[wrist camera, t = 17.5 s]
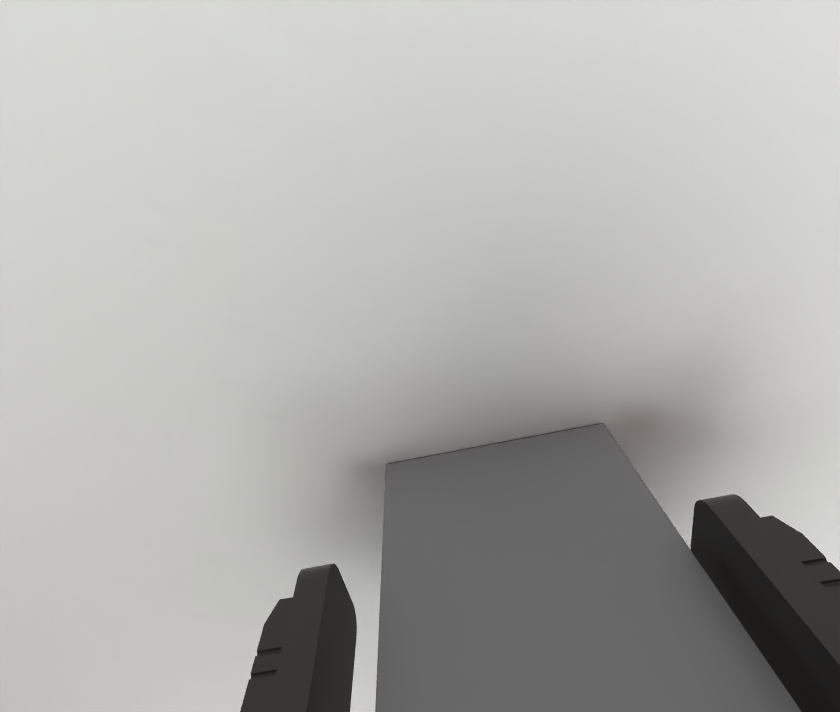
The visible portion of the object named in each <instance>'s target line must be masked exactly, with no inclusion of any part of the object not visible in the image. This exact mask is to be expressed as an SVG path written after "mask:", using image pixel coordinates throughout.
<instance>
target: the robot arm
mask: <svg viewBox="0 0 840 712" xmlns="http://www.w3.org/2000/svg"><path fill="white" fill-rule="evenodd" d="M691 552H692V553H693V554H694V556H695V557H696V559H697V560H698V562H699V563H700V565H701V566H702V568H703V569H704V571H705V572H706V573H707V575H708V576H709V578H710V579H711V581H712V582H713V584H714V585H715V587H716V588H717V589H718V591H719V592H720V594H721V595H722V597H723V598H724V600H725V601H726V603H727V604H728V605H729V607H730V608H731V610H732V611H733V613H734V614H735V616H736V617H737V619H738V620H739V621H740V623H741V624H742V626H743V627H744V629H745V630H746V632H747V633H748V635H749V636H750V637H751V639H752V640H753V642H754V643H755V645H756V646H757V648H758V649H759V651H760V652H761V653H762V655H763V656H764V658H765V659H766V661H767V662H768V664H769V665H770V667H771V668H772V669H773V671H774V672H775V674H776V675H777V677H778V678H779V680H780V681H781V683H782V684H783V685H784V687H785V688H786V690H787V691H788V693H789V694H790V696H791V697H792V699H793V700H794V701H795V703H796V704H797V706H798V707H799V709H800V710H801V712H840V571H839V570H838V569H837V568H836V567H835V566H834V565H833V564H832V563H831V562H830V563H828V562H827V560H826V557H825V556H824V555H823V554H822V553H821V552H820V551H819V550H818V549H817V548H816V547H815V546H814V545H813V544H812V543H811V542H810V541H809V540H808V539H807V538H806V537H805V536H804V535H803V534H802V533H800V532H798V531H797V530H795V529H793V528H792V527H790V526H788V525H787V524H785V523H783V522H782V521H780V520H779V519H777V518H775V517H774V516H767V517H762V518H760V517H759V516H758V515H757V514H756V513H755V511H754V510H753V509H752V508H751V507H750V506H749V505H748V504H747V503H746V502H745V501H744V500H743V499H742V498H741V497H739V496H737V495H734V494H733V495H727V496H721V497H715V498H710V499H704V500H699V501H697V502H696V503H695V507H694V517H693V528H692V538H691ZM356 633H357V625H356V614H355V609H354V605H353V603H352V600H351V598H350V595H349V593H348V591H347V588H346V586H345V584H344V581H343V579H342V576H341V574H340V572H339V569H338V567H337V566H336V565H335V564H329V565H323V566H317V567H312V568H306V569H302V570H301V571H300V573H299V575H298V578H297V582H296V587H295V591H294V596H293V597H292V598H286V599H280V600H279V601H278V603H277V605H276V606H275V608H274V609H273V611H272V613H271V614H270V616H269V617H268V619H267V621H266V622H265V624H264V627H263V631H262V634H261V638H260V642H259V645H258V649H257V656H255V660H254V664H253V667H252V671H251V679H250V680H249V682H248V685H247V689H246V693H245V696H244V700H243V704H242V707H241V711H240V712H350V704H351V692H352V681H353V669H354V658H355V646H356Z"/></svg>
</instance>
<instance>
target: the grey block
mask: <svg viewBox="0 0 840 712" xmlns="http://www.w3.org/2000/svg"><path fill="white" fill-rule="evenodd" d="M375 712H801V710H800V709H799V707H798V706H797V704H796V703H795V701H794V700H793V699H792V697H791V696H790V694H789V693H788V691H787V690H786V688H785V687H784V685H783V684H782V683H781V681H780V680H779V678H778V677H777V675H776V674H775V672H774V671H773V669H772V668H771V667H770V665H769V664H768V662H767V661H766V659H765V658H764V656H763V655H762V653H761V652H760V651H759V649H758V648H757V646H756V645H755V643H754V642H753V640H752V639H751V637H750V636H749V635H748V633H747V632H746V630H745V629H744V627H743V626H742V624H741V623H740V621H739V620H738V619H737V617H736V616H735V614H734V613H733V611H732V610H731V608H730V607H729V605H728V604H727V603H726V601H725V600H724V598H723V597H722V595H721V594H720V592H719V591H718V589H717V588H716V587H715V585H714V584H713V582H712V581H711V579H710V578H709V576H708V575H707V573H706V572H705V571H704V569H703V568H702V566H701V565H700V563H699V562H698V560H697V559H696V557H695V556H694V554H693V553H692V552H691V550H690V549H689V547H688V546H687V544H686V543H685V541H684V540H683V538H682V537H681V536H680V534H679V533H678V531H677V530H676V528H675V527H674V525H673V524H672V522H671V521H670V520H669V518H668V517H667V515H666V514H665V512H664V511H663V509H662V508H661V506H660V505H659V504H658V502H657V501H656V499H655V498H654V496H653V495H652V493H651V492H650V490H649V489H648V488H647V486H646V485H645V483H644V482H643V480H642V479H641V477H640V476H639V474H638V473H637V472H636V470H635V469H634V467H633V466H632V464H631V463H630V461H629V460H628V458H627V457H626V456H625V454H624V453H623V451H622V450H621V448H620V447H619V445H618V444H617V442H616V441H615V440H614V438H613V437H612V435H611V434H610V432H609V431H608V429H607V428H606V426H605V425H604V424H603V423H602V424H597V425H591V426H586V427H581V428H576V429H570V430H565V431H560V432H555V433H549V434H544V435H539V436H533V437H528V438H523V439H518V440H512V441H507V442H502V443H497V444H491V445H486V446H481V447H475V448H470V449H465V450H460V451H454V452H449V453H444V454H439V455H433V456H428V457H423V458H417V459H412V460H407V461H402V462H396V463H391V464H386V477H385V501H384V524H383V547H382V570H381V594H380V617H379V640H378V663H377V687H376V710H375Z"/></svg>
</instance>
